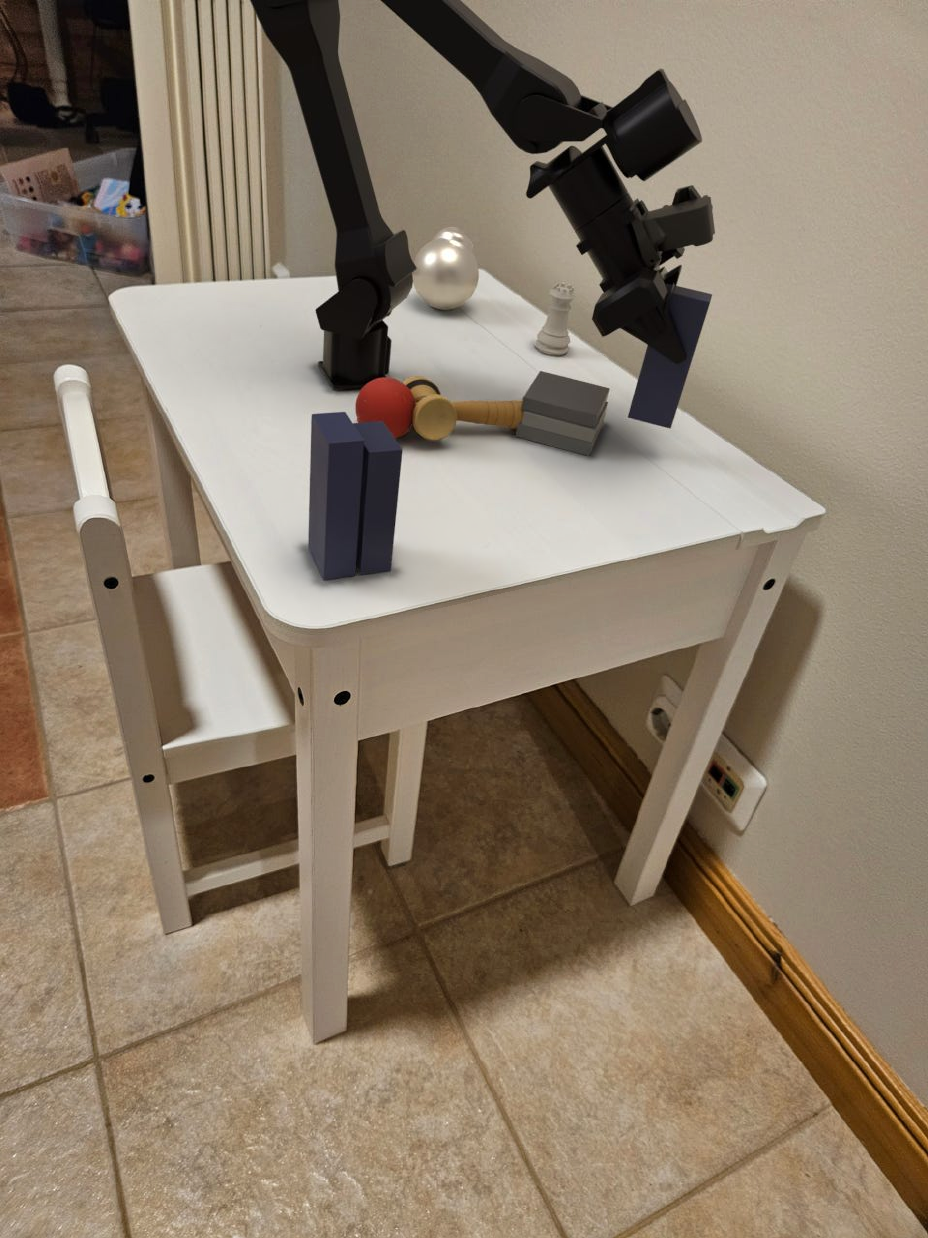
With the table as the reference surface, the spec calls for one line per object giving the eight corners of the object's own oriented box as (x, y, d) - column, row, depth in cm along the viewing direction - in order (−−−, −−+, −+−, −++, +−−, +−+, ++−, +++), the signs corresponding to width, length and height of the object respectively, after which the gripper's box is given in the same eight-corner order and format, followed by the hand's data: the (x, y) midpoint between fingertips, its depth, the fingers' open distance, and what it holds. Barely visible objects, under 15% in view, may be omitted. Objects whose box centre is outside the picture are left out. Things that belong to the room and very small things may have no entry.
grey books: (515, 436, 92) (522, 397, 90) (533, 407, 99) (540, 369, 96) (589, 456, 91) (598, 417, 88) (602, 425, 97) (612, 387, 95)
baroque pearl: (490, 311, 120) (501, 235, 114) (443, 324, 114) (453, 244, 108) (441, 290, 125) (450, 215, 118) (394, 301, 118) (400, 223, 112)
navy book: (670, 429, 90) (710, 301, 82) (627, 417, 90) (662, 290, 82) (673, 419, 92) (712, 293, 84) (631, 408, 92) (666, 282, 84)
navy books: (323, 580, 69) (328, 443, 61) (307, 548, 72) (311, 413, 65) (391, 571, 71) (404, 436, 64) (373, 540, 74) (383, 408, 67)
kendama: (499, 419, 98) (342, 407, 90) (518, 370, 93) (354, 353, 86) (522, 464, 93) (358, 455, 86) (544, 414, 89) (373, 400, 81)
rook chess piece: (575, 354, 112) (589, 291, 108) (548, 358, 110) (561, 294, 105) (554, 340, 115) (566, 278, 110) (527, 344, 113) (538, 281, 108)
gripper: (667, 176, 70) (758, 345, 75) (690, 140, 84) (765, 284, 89) (551, 256, 76) (642, 407, 81) (591, 210, 90) (667, 341, 95)
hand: (683, 356), depth 86 cm, fingers closed on navy book, 3 cm apart
